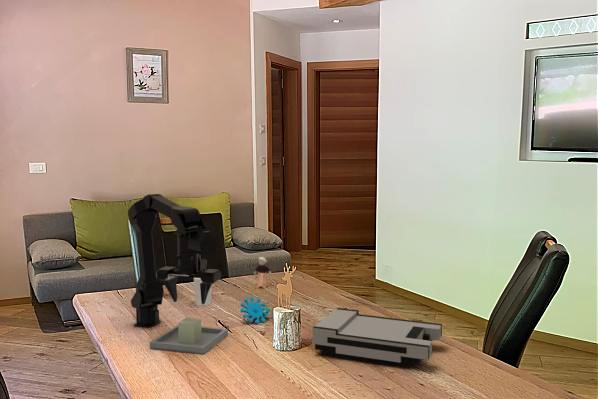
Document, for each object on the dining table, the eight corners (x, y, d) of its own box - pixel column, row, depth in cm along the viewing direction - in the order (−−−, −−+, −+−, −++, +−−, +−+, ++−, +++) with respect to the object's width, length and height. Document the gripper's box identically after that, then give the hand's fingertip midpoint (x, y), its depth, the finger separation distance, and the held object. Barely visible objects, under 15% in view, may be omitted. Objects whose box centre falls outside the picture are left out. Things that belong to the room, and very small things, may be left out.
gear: (244, 322, 187) (239, 295, 193) (238, 331, 191) (233, 304, 197) (275, 321, 192) (269, 295, 198) (269, 330, 196) (263, 304, 202)
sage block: (178, 342, 172) (178, 322, 171) (186, 336, 177) (186, 317, 176) (193, 343, 170) (193, 323, 170) (201, 338, 175) (201, 318, 174)
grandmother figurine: (252, 288, 236) (251, 257, 235) (254, 285, 240) (254, 255, 238) (270, 288, 235) (270, 258, 233) (272, 286, 238) (272, 256, 237)
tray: (150, 348, 168) (149, 342, 168) (178, 330, 184) (178, 324, 184) (203, 354, 163) (203, 347, 163) (227, 335, 179) (227, 328, 179)
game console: (427, 373, 149) (428, 342, 149) (312, 356, 162) (312, 327, 161) (441, 347, 168) (442, 319, 168) (337, 333, 181) (337, 307, 180)
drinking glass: (216, 302, 215) (215, 276, 214) (204, 307, 210) (203, 280, 209) (202, 300, 219) (202, 274, 218) (190, 304, 213) (189, 277, 212)
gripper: (228, 247, 176) (229, 298, 177) (173, 244, 181) (174, 293, 183) (212, 254, 165) (213, 308, 167) (154, 251, 170) (156, 303, 172)
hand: (189, 302), depth 172 cm, fingers open, 9 cm apart
